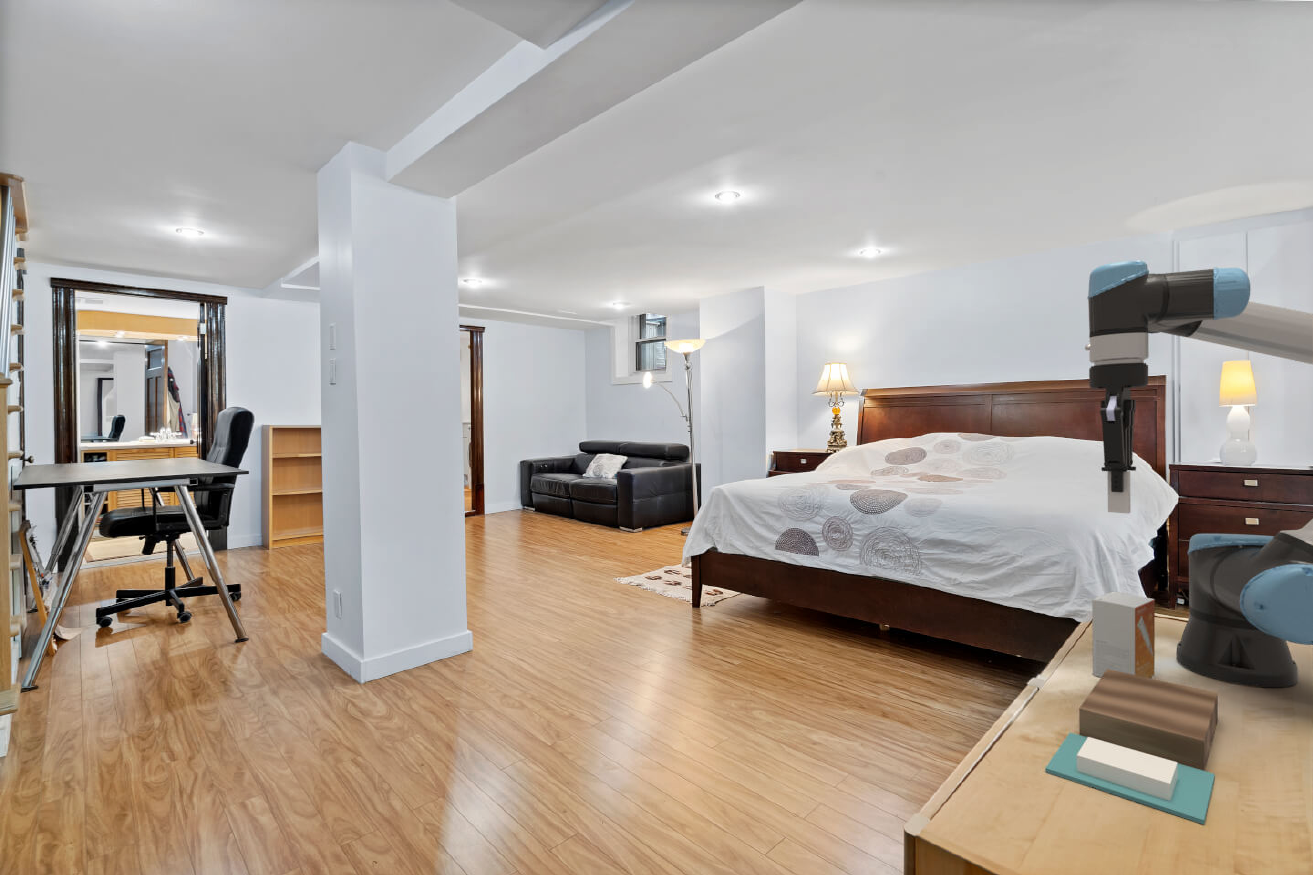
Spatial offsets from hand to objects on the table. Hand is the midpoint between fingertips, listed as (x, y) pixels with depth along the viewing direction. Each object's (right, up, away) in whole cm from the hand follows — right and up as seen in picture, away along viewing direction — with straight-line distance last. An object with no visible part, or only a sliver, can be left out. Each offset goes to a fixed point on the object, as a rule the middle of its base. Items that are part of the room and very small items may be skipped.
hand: (1119, 512), depth 100 cm
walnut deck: (-4, -29, -12) cm, 32 cm away
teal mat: (-15, -30, -23) cm, 40 cm away
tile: (-16, -27, -24) cm, 40 cm away
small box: (+5, -28, +6) cm, 29 cm away
